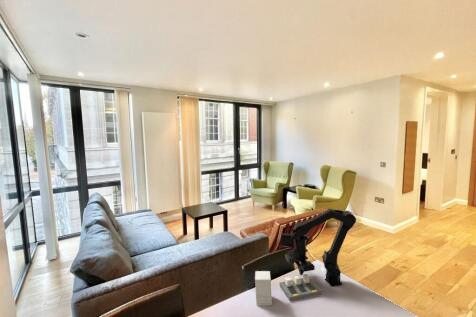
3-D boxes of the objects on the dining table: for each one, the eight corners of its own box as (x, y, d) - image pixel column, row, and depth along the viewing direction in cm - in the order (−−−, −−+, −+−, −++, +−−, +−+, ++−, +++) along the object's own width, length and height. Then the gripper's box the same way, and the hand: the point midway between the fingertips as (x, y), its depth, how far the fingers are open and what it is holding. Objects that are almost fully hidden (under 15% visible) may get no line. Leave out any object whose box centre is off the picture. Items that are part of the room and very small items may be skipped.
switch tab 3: (307, 279, 122) (307, 274, 121) (309, 282, 119) (309, 276, 119) (303, 280, 121) (302, 274, 121) (305, 283, 119) (305, 277, 118)
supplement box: (271, 295, 114) (270, 270, 113) (271, 306, 106) (271, 279, 106) (256, 295, 114) (255, 270, 114) (255, 305, 107) (254, 279, 106)
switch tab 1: (289, 283, 119) (289, 277, 119) (291, 285, 117) (291, 279, 117) (285, 284, 119) (285, 278, 119) (287, 286, 116) (287, 280, 116)
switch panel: (308, 280, 124) (308, 276, 124) (321, 294, 113) (321, 290, 113) (279, 286, 121) (279, 282, 121) (289, 301, 109) (289, 297, 109)
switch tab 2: (298, 281, 120) (298, 275, 120) (300, 284, 118) (300, 278, 118) (294, 282, 120) (294, 276, 120) (296, 285, 118) (296, 278, 117)
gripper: (279, 242, 132) (280, 268, 133) (294, 257, 114) (295, 287, 115) (297, 239, 134) (298, 265, 135) (314, 254, 116) (315, 283, 117)
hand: (301, 274), depth 125 cm, fingers closed
